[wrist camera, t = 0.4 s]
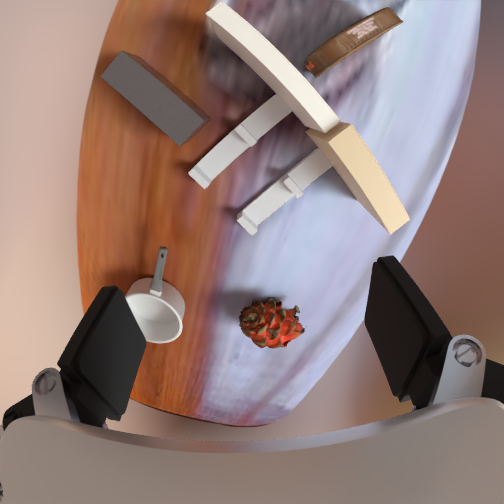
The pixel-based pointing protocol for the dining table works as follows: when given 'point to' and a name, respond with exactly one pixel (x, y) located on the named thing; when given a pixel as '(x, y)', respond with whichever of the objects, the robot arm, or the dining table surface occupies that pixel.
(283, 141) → the dining table surface
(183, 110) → the grey metal block
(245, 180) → the dining table surface
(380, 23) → the tin
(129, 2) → the dining table surface
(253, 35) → the white rack
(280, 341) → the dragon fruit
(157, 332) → the saucepan
